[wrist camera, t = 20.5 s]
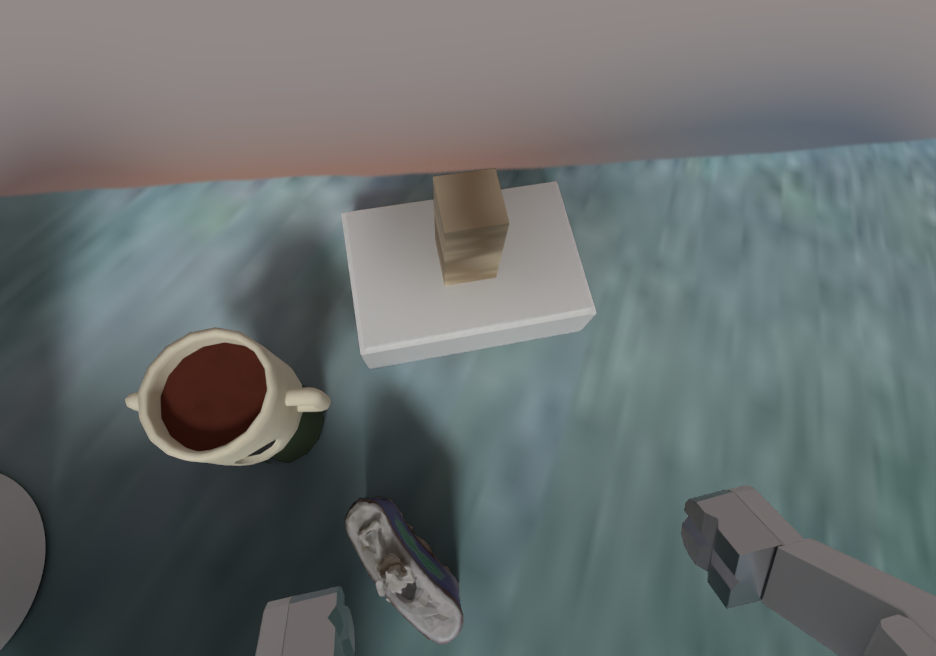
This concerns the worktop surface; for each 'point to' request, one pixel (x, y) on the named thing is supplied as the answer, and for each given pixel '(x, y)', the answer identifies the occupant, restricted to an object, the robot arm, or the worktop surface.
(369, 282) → the grey box
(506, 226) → the maple block
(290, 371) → the character mug
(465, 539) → the worktop surface
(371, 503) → the flask
